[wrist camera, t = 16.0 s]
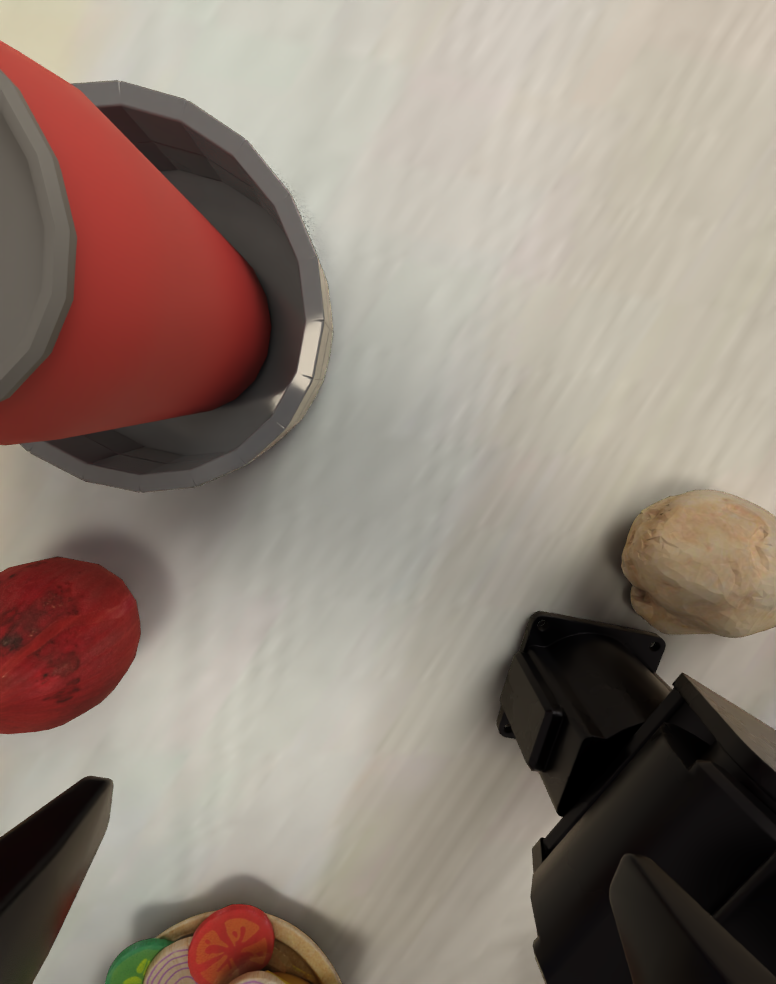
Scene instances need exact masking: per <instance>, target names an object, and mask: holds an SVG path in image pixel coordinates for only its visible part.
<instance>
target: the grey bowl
mask: <svg viewBox="0 0 776 984" xmlns="http://www.w3.org/2000/svg"><path fill="white" fill-rule="evenodd" d="M71 85H73V86H75V87H76V88H78V89H79V90H81V91H82V92H83V94H84V95H85V96H86V97H87V98H88V99H89V100H90V101H91V102H92V103H93V104H94V105H95V106H96V107H97V108H98V109H99V110H100V111H101V112H102V113H103V114H104V115H105V116H106V117H107V118H108V119H109V120H110V121H111V122H112V123H113V124H114V125H115V126H116V127H117V128H118V129H119V130H120V131H121V132H122V133H123V134H124V135H125V136H126V137H127V138H128V140H129V141H130V142H131V143H132V144H133V145H134V146H135V147H136V148H137V149H138V150H139V151H140V152H141V153H142V154H143V155H144V156H145V157H146V158H147V159H148V160H149V161H150V162H151V163H152V164H153V165H154V166H155V167H156V168H157V169H158V170H159V171H160V172H161V173H162V174H163V175H164V176H165V177H166V178H167V179H168V180H169V181H170V182H171V183H172V184H173V186H174V187H175V188H176V189H177V190H178V191H179V192H180V193H181V194H182V195H183V196H184V197H185V198H186V199H187V200H188V201H189V202H190V203H191V204H192V205H193V206H194V207H195V208H196V209H197V210H198V211H199V212H200V213H201V214H202V215H203V216H204V217H205V218H206V219H207V220H208V221H209V222H210V223H211V224H212V225H213V226H214V227H215V228H216V229H217V230H218V231H219V233H220V234H221V235H222V236H223V237H224V238H225V239H226V240H227V241H228V242H229V243H230V244H231V245H232V246H233V247H234V248H235V249H236V250H237V251H238V253H239V254H240V255H241V256H242V257H243V258H244V259H245V260H246V261H247V263H248V264H249V265H250V266H251V267H252V268H253V269H254V272H255V274H256V276H257V278H258V280H259V282H260V284H261V286H262V288H263V290H264V293H265V295H266V297H267V302H268V308H269V315H270V321H271V333H270V340H269V347H268V354H267V357H266V359H265V361H264V363H263V365H262V367H261V369H260V371H259V373H258V375H257V377H256V379H255V381H254V382H253V383H252V384H251V385H250V386H249V387H248V388H247V389H245V390H244V391H243V392H242V393H241V394H240V395H239V396H238V397H237V398H236V399H235V400H233V401H231V402H229V403H226V404H224V405H222V406H220V407H218V408H216V409H214V410H211V411H206V412H201V413H196V414H191V415H185V416H180V417H175V418H169V419H164V420H159V421H154V422H148V423H143V424H138V425H132V426H127V427H122V428H117V429H111V430H106V431H101V432H95V433H90V434H85V435H80V436H74V437H69V438H64V439H57V440H48V441H39V442H30V443H21V444H20V445H21V446H22V447H23V448H25V449H26V450H27V451H29V452H30V453H31V454H33V455H35V456H37V457H39V458H41V459H42V460H44V461H46V462H48V463H50V464H52V465H54V466H56V467H58V468H60V469H62V470H64V471H66V472H68V473H70V474H71V475H73V476H75V477H77V478H79V479H81V480H84V481H86V482H91V483H96V484H101V485H106V486H110V487H115V488H120V489H125V490H130V491H135V492H153V491H163V490H174V489H184V488H195V487H196V486H201V485H203V484H205V483H207V482H210V481H212V480H214V479H217V478H219V477H221V476H224V475H226V474H228V473H230V472H233V471H235V470H237V469H240V468H242V467H244V466H246V465H247V464H249V463H250V462H252V461H253V460H255V459H256V458H257V457H259V456H260V455H262V454H263V453H264V452H266V451H267V450H269V449H270V448H271V447H273V446H274V445H275V444H276V443H277V442H278V441H279V440H280V439H281V438H283V437H284V436H285V435H286V434H287V433H288V432H289V431H290V430H291V429H292V428H294V427H295V426H296V425H297V424H298V423H299V422H300V421H301V420H302V419H303V418H304V416H305V414H306V412H307V411H308V409H309V408H310V406H311V404H312V403H313V401H314V399H315V397H316V396H317V394H318V392H319V389H320V387H321V385H322V383H323V382H324V378H325V374H326V370H327V366H328V363H329V359H330V353H331V345H332V338H333V324H332V312H331V303H330V297H329V288H328V283H327V280H326V277H325V275H324V272H323V269H322V267H321V264H320V261H319V259H318V256H317V254H316V251H315V249H314V247H313V244H312V242H311V240H310V237H309V235H308V232H307V230H306V228H305V225H304V223H303V221H302V218H301V216H300V213H299V211H298V209H297V206H296V204H295V202H294V199H293V197H292V195H291V194H290V192H289V191H288V189H287V188H286V187H285V186H284V184H283V183H282V182H281V181H280V180H279V178H278V177H277V176H276V175H275V173H274V172H273V171H272V170H271V169H270V167H269V166H268V165H267V164H266V162H265V161H264V160H263V159H262V157H261V156H260V155H259V154H258V153H257V151H256V150H255V149H254V148H253V146H252V145H251V144H250V143H249V142H248V141H247V140H245V138H244V137H242V136H241V135H239V134H238V133H236V132H235V131H233V130H232V129H230V128H229V127H227V126H226V125H224V124H223V123H221V122H220V121H218V120H217V119H216V118H214V117H213V116H211V115H210V114H208V113H207V112H205V111H204V110H202V109H201V108H199V107H198V106H196V105H195V104H193V103H192V102H190V101H187V100H186V99H183V98H180V97H176V96H173V95H169V94H166V93H162V92H159V91H155V90H152V89H148V88H145V87H141V86H138V85H134V84H130V83H127V82H123V81H121V82H120V81H118V80H114V81H101V82H87V83H73V84H71Z"/></svg>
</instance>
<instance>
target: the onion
mask: <svg viewBox="0 0 776 984" xmlns="http://www.w3.org/2000/svg"><path fill="white" fill-rule="evenodd" d="M140 635H141V630H140V620H139V614H138V609H137V603H136V600H135V598H134V597H133V595H132V594H131V592H130V591H129V589H128V588H127V586H126V585H125V583H124V582H123V580H122V579H121V578H119V577H118V576H116V575H115V574H113V573H112V572H110V571H108V570H107V569H105V568H104V567H102V566H101V565H99V564H95V563H90V562H85V561H79V560H74V559H68V558H63V557H53V558H49V559H44V560H40V561H35V562H31V563H27V564H22V565H18V566H13V567H9V568H7V569H5V570H4V571H2V572H0V734H15V733H27V732H37V731H43V730H49V729H52V728H55V727H58V726H61V725H64V724H65V723H67V722H69V721H71V720H72V719H74V718H76V717H78V716H80V715H81V714H83V713H85V712H87V711H88V710H90V709H91V708H93V707H95V706H96V705H98V704H99V703H101V702H102V701H103V700H104V699H105V698H106V697H107V696H108V695H109V694H110V693H111V692H112V691H113V690H114V689H115V687H116V686H117V685H118V683H119V682H120V680H121V679H122V678H123V676H124V675H125V673H126V672H127V671H128V669H129V667H130V665H131V663H132V662H133V660H134V658H135V656H136V652H137V647H138V643H139V639H140Z"/></svg>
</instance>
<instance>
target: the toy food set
mask: <svg viewBox="0 0 776 984" xmlns="http://www.w3.org/2000/svg"><path fill="white" fill-rule="evenodd" d="M105 984H342V982H341V980H340V978H339V976H338V974H337V972H336V970H335V969H334V967H333V966H332V964H331V962H330V961H329V959H328V958H327V957H326V955H325V954H324V953H323V951H322V950H321V949H320V948H319V947H318V946H317V945H316V944H315V943H314V941H313V940H312V939H311V938H310V937H308V936H307V935H306V934H305V933H303V932H302V931H301V930H299V929H298V928H297V927H295V926H294V925H292V924H290V923H288V922H287V921H285V920H282V919H280V918H278V917H276V916H273V915H270V914H267V913H264V912H263V911H262V910H260V909H258V908H256V907H254V906H251V905H244V904H232V905H229V906H227V907H224V908H222V909H220V910H215V911H210V912H206V913H203V914H199V915H196V916H193V917H190V918H188V919H186V920H184V921H181V922H179V923H177V924H176V925H174V926H172V927H170V928H169V929H167V930H165V931H164V932H163V933H161V934H160V935H158V936H157V937H156V938H150V939H146V940H142V941H138V942H136V943H134V944H132V945H130V946H129V947H127V948H126V949H125V950H123V951H122V952H121V953H120V954H119V955H118V956H117V958H116V959H115V960H114V962H113V963H112V965H111V966H110V969H109V971H108V974H107V977H106V981H105Z"/></svg>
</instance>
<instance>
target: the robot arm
mask: <svg viewBox="0 0 776 984" xmlns="http://www.w3.org/2000/svg"><path fill="white" fill-rule="evenodd" d="M542 620H545V623H544V624H543V625H542V626H537V625H538V623H539V622H540V621H542ZM654 642H655V644H654V645H653V646H652V647H650V645H651V644H652V643H654ZM665 646H666V645H665V641H664V640H663V639H662V638H661V637H660V636H658V635H657V634H655V633H652V632H647V631H642V630H636V629H631V628H626V627H621V626H616V625H611V624H606V623H600V622H595V621H590V620H585V619H580V618H575V617H570V616H565V615H559V614H554V613H549V612H544V611H538V612H535V613H534V614H533V615H531V617H530V619H529V622H528V625H527V628H526V631H525V634H524V638H523V641H522V644H521V647H520V650H519V652H517V653H516V654H515V655H514V657H513V660H512V663H511V666H510V669H509V672H508V675H507V678H506V682H505V685H504V688H503V691H502V694H501V697H500V702H501V704H502V706H501V709H500V712H499V715H498V718H497V722H496V725H497V727H498V730H499V733H500V734H501V735H502V736H504V737H508V738H514V739H516V740H517V742H518V745H519V747H520V749H521V752H522V754H523V756H524V759H525V761H526V763H527V765H528V766H529V768H530V769H531V771H537V772H539V774H540V776H541V778H542V780H543V783H544V785H545V787H546V789H547V792H548V794H549V796H550V798H551V801H552V803H553V805H554V807H555V810H556V812H557V814H558V815H559V816H561V817H563V818H562V819H561V820H560V821H559V822H558V824H557V825H556V826H555V827H554V828H553V829H552V831H551V832H550V833H549V834H548V835H547V836H546V838H540V839H539V841H538V842H537V843H536V844H535V845H534V846H533V848H532V858H533V873H534V874H533V879H532V888H531V902H532V907H533V913H534V918H535V923H536V928H537V935H538V937H537V938H536V939H535V940H534V942H533V949H534V954H535V959H536V962H537V964H538V967H539V969H540V972H541V974H542V977H543V979H544V982H545V984H776V730H774V729H773V728H771V727H770V726H768V725H766V724H765V723H763V722H762V721H760V720H758V719H757V718H755V717H754V716H752V715H750V714H749V713H747V712H746V711H744V710H742V709H741V708H739V707H738V706H736V705H734V704H733V703H731V702H729V701H728V700H726V699H725V698H723V697H721V696H720V695H718V694H717V693H715V692H713V691H712V690H710V689H709V688H707V687H705V686H704V685H702V684H701V683H699V682H697V681H696V680H694V679H693V678H691V677H689V676H688V675H686V674H684V673H681V674H680V676H679V677H678V678H677V679H676V680H675V681H674V683H673V686H674V688H673V689H671V688H670V687H669V686H668V685H667V684H666V683H665V682H664V681H663V680H662V679H661V678H660V677H659V676H658V675H657V674H656V670H657V668H658V665H659V663H660V660H661V658H662V655H663V652H664V650H665ZM507 724H510V726H508V727H504V726H505V725H507ZM112 794H113V781H112V780H111V779H109V778H103V777H96V776H87V777H85V778H83V779H81V780H80V781H78V782H77V783H76V784H74V785H73V786H71V787H70V788H69V789H67V790H66V791H64V792H63V793H62V794H60V795H59V796H57V797H56V798H55V799H53V800H52V801H50V802H49V803H48V804H46V805H45V806H43V807H42V808H41V809H39V810H38V811H36V812H35V813H34V814H32V815H31V816H29V817H28V818H27V819H25V820H24V821H22V822H21V823H20V824H18V825H17V826H15V827H14V828H13V829H11V830H10V831H8V832H7V833H6V834H4V835H3V836H1V837H0V984H32V983H33V981H34V979H35V977H36V976H37V974H38V972H39V970H40V968H41V967H42V965H43V963H44V961H45V959H46V957H47V956H48V954H49V952H50V950H51V948H52V945H53V943H54V941H55V939H56V937H57V935H58V933H59V931H60V929H61V927H62V925H63V922H64V920H65V918H66V916H67V914H68V912H69V910H70V908H71V905H72V903H73V901H74V899H75V897H76V895H77V893H78V890H79V888H80V886H81V884H82V882H83V880H84V878H85V876H86V873H87V871H88V869H89V867H90V865H91V863H92V861H93V858H94V856H95V854H96V852H97V850H98V848H99V846H100V844H101V841H102V839H103V837H104V835H105V832H106V830H107V827H108V823H109V819H110V811H111V803H112Z"/></svg>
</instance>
